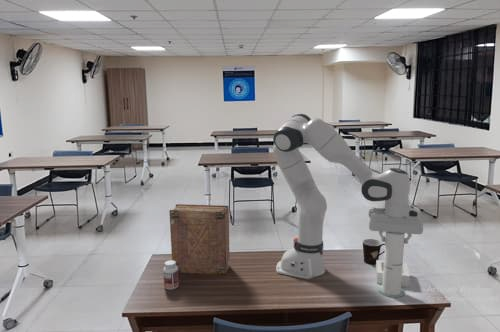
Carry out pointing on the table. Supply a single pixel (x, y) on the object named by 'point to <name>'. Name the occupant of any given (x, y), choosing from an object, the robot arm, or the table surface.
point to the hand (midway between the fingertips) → (394, 242)
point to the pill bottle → (171, 275)
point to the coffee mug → (371, 251)
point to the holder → (405, 273)
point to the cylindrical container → (393, 263)
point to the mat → (390, 294)
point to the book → (200, 238)
